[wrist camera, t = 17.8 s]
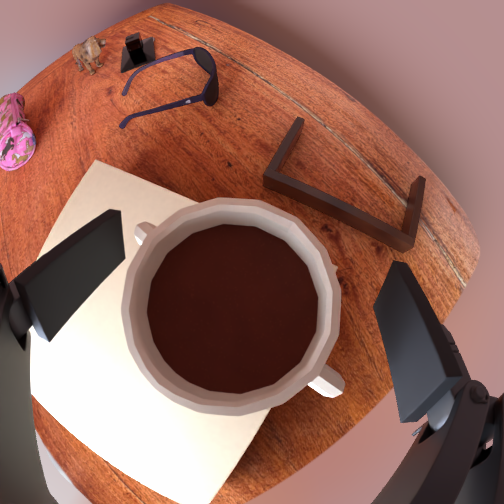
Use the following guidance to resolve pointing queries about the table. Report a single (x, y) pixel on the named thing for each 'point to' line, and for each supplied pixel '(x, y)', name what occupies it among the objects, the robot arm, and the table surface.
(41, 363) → the cream square platform
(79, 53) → the lion figurine
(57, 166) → the table surface
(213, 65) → the sunglasses
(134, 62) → the build plate
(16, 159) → the pencil case
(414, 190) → the dark brown u-shaped bracket
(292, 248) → the character mug
